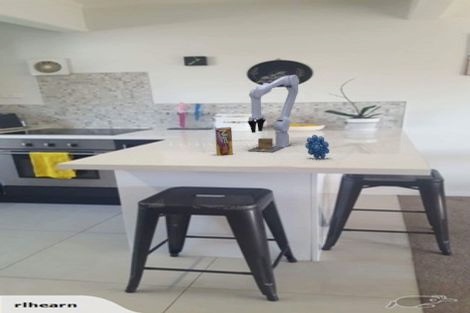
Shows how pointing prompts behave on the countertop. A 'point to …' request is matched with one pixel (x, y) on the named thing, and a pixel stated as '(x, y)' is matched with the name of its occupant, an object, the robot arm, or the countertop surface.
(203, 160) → the countertop surface
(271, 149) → the mat
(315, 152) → the blue knobbed wheel
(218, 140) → the candy box
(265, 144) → the walnut block
